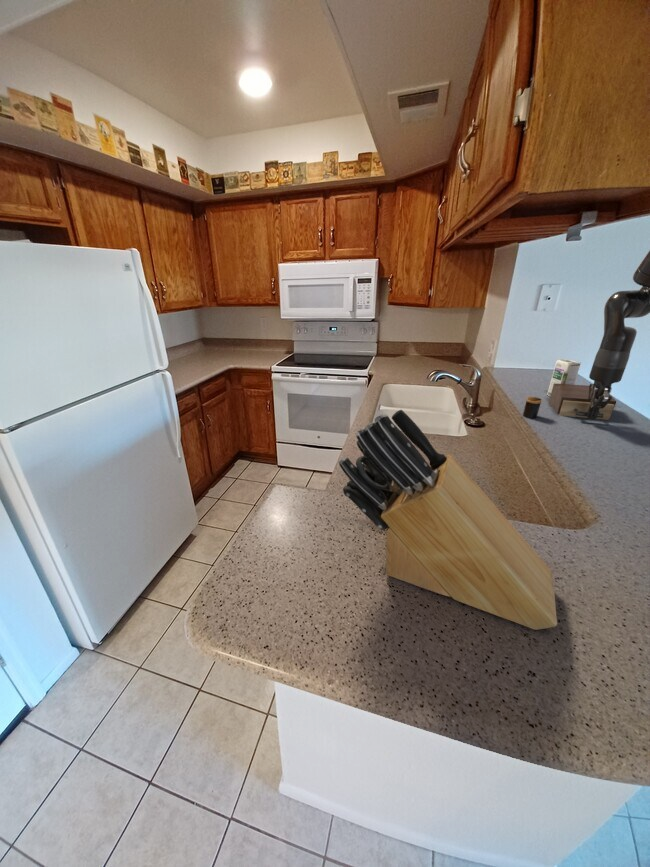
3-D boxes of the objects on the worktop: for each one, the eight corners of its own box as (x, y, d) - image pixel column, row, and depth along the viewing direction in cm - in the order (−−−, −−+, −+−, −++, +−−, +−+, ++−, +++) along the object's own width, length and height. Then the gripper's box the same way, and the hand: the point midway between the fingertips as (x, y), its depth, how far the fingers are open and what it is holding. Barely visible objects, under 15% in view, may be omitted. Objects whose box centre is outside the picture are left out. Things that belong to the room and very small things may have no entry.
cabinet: (608, 423, 108) (616, 401, 105) (555, 418, 114) (562, 397, 110) (595, 406, 120) (602, 386, 117) (548, 402, 126) (553, 383, 122)
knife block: (361, 522, 73) (360, 391, 59) (547, 581, 57) (607, 422, 43) (338, 558, 64) (331, 415, 50) (551, 640, 48) (628, 465, 34)
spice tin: (535, 418, 114) (540, 397, 110) (536, 424, 110) (542, 402, 107) (520, 417, 116) (525, 396, 112) (522, 422, 112) (527, 400, 108)
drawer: (612, 427, 104) (619, 410, 101) (561, 422, 109) (566, 405, 106) (596, 406, 118) (601, 391, 115) (552, 402, 123) (556, 388, 120)
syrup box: (545, 395, 132) (555, 360, 126) (558, 393, 133) (568, 358, 127) (558, 400, 127) (568, 363, 121) (570, 398, 128) (581, 361, 122)
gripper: (634, 371, 89) (612, 428, 97) (617, 359, 100) (599, 411, 108) (600, 369, 92) (581, 425, 100) (587, 358, 103) (572, 409, 110)
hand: (590, 417), depth 104 cm, fingers closed
